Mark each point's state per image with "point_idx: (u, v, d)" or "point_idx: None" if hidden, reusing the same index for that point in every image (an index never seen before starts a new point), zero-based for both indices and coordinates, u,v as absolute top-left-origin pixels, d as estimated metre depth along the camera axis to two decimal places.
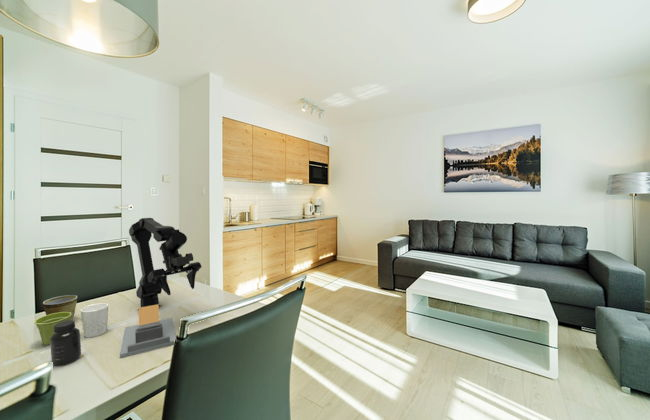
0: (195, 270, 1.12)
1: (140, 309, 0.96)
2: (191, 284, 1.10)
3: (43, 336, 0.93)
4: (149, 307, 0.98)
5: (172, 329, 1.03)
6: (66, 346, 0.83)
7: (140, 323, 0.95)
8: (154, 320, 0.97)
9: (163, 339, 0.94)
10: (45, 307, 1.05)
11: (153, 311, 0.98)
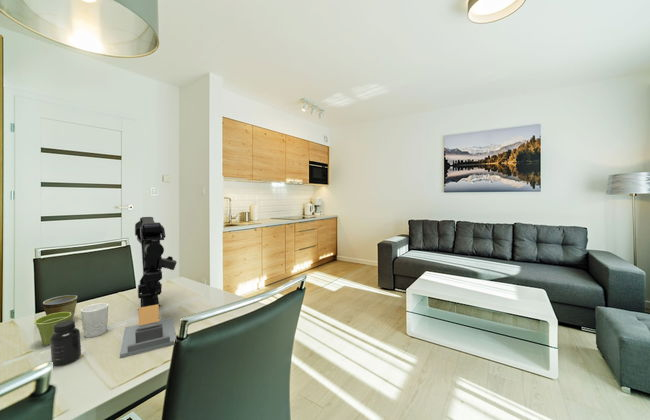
0: None
1: (140, 309, 0.96)
2: None
3: (43, 336, 0.93)
4: (149, 307, 0.98)
5: (172, 329, 1.03)
6: (66, 346, 0.83)
7: (140, 323, 0.95)
8: (154, 320, 0.97)
9: (163, 339, 0.94)
10: (45, 307, 1.05)
11: (153, 311, 0.98)
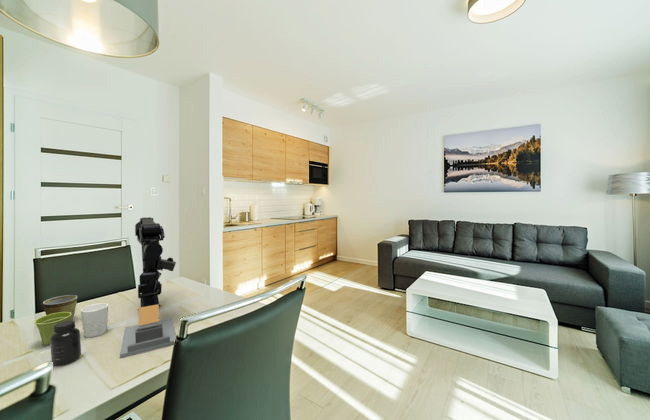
0: (160, 274, 1.13)
1: (140, 309, 0.96)
2: None
3: (43, 336, 0.93)
4: (149, 307, 0.98)
5: (172, 329, 1.03)
6: (66, 346, 0.83)
7: (140, 323, 0.95)
8: (154, 320, 0.97)
9: (163, 339, 0.94)
10: (45, 307, 1.05)
11: (153, 311, 0.98)
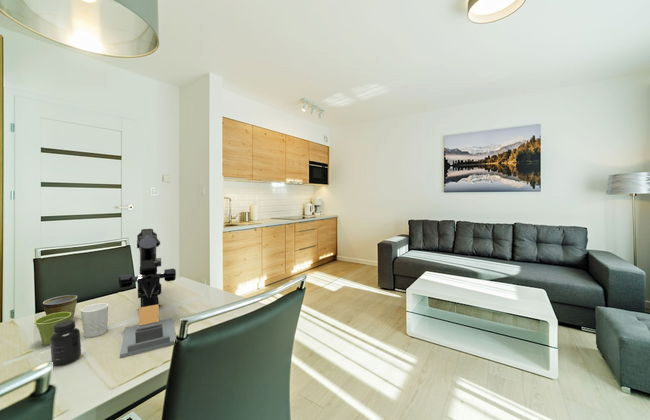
0: (154, 278, 1.06)
1: (140, 309, 0.96)
2: None
3: (43, 336, 0.93)
4: (149, 307, 0.98)
5: (172, 329, 1.03)
6: (66, 346, 0.83)
7: (140, 323, 0.95)
8: (154, 320, 0.97)
9: (163, 339, 0.94)
10: (45, 307, 1.05)
11: (153, 311, 0.98)
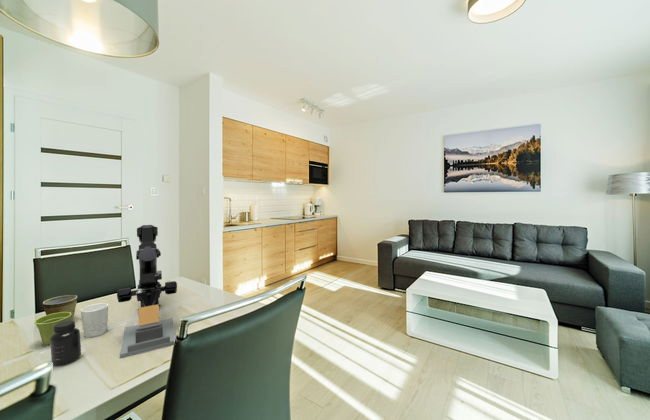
0: (154, 292, 1.01)
1: (140, 309, 0.96)
2: None
3: (43, 336, 0.93)
4: (149, 307, 0.97)
5: (172, 329, 1.03)
6: (66, 346, 0.83)
7: (140, 323, 0.95)
8: (154, 320, 0.97)
9: (163, 339, 0.94)
10: (45, 307, 1.05)
11: (153, 311, 0.98)
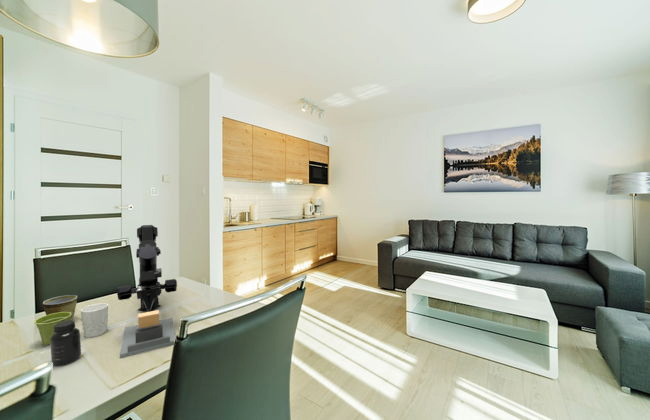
0: (154, 289, 1.01)
1: (140, 318, 0.91)
2: None
3: (43, 336, 0.93)
4: (149, 316, 0.93)
5: (172, 329, 1.03)
6: (66, 346, 0.83)
7: (140, 327, 0.94)
8: (154, 324, 0.96)
9: (163, 339, 0.94)
10: (45, 307, 1.05)
11: (153, 318, 0.94)
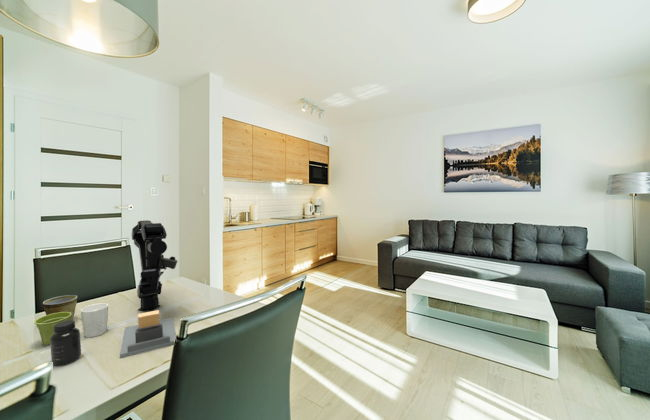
0: (162, 273, 1.16)
1: (140, 318, 0.91)
2: None
3: (43, 336, 0.93)
4: (149, 316, 0.93)
5: (172, 329, 1.03)
6: (66, 346, 0.83)
7: (140, 327, 0.94)
8: (154, 324, 0.96)
9: (163, 339, 0.94)
10: (45, 307, 1.05)
11: (153, 318, 0.94)
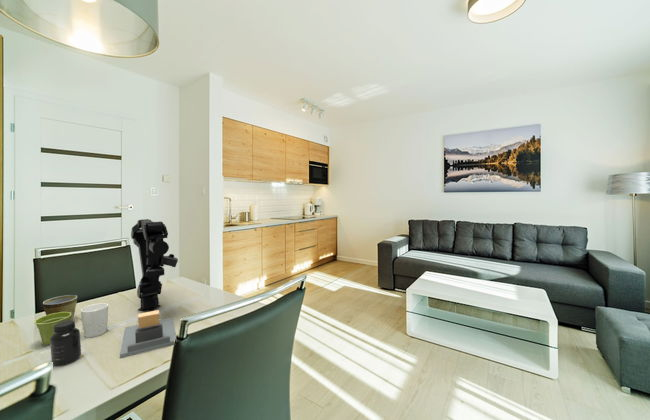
0: None
1: (140, 318, 0.91)
2: None
3: (43, 336, 0.93)
4: (149, 316, 0.93)
5: (172, 329, 1.03)
6: (66, 346, 0.83)
7: (140, 327, 0.94)
8: (154, 324, 0.96)
9: (163, 339, 0.94)
10: (45, 307, 1.05)
11: (153, 318, 0.94)
